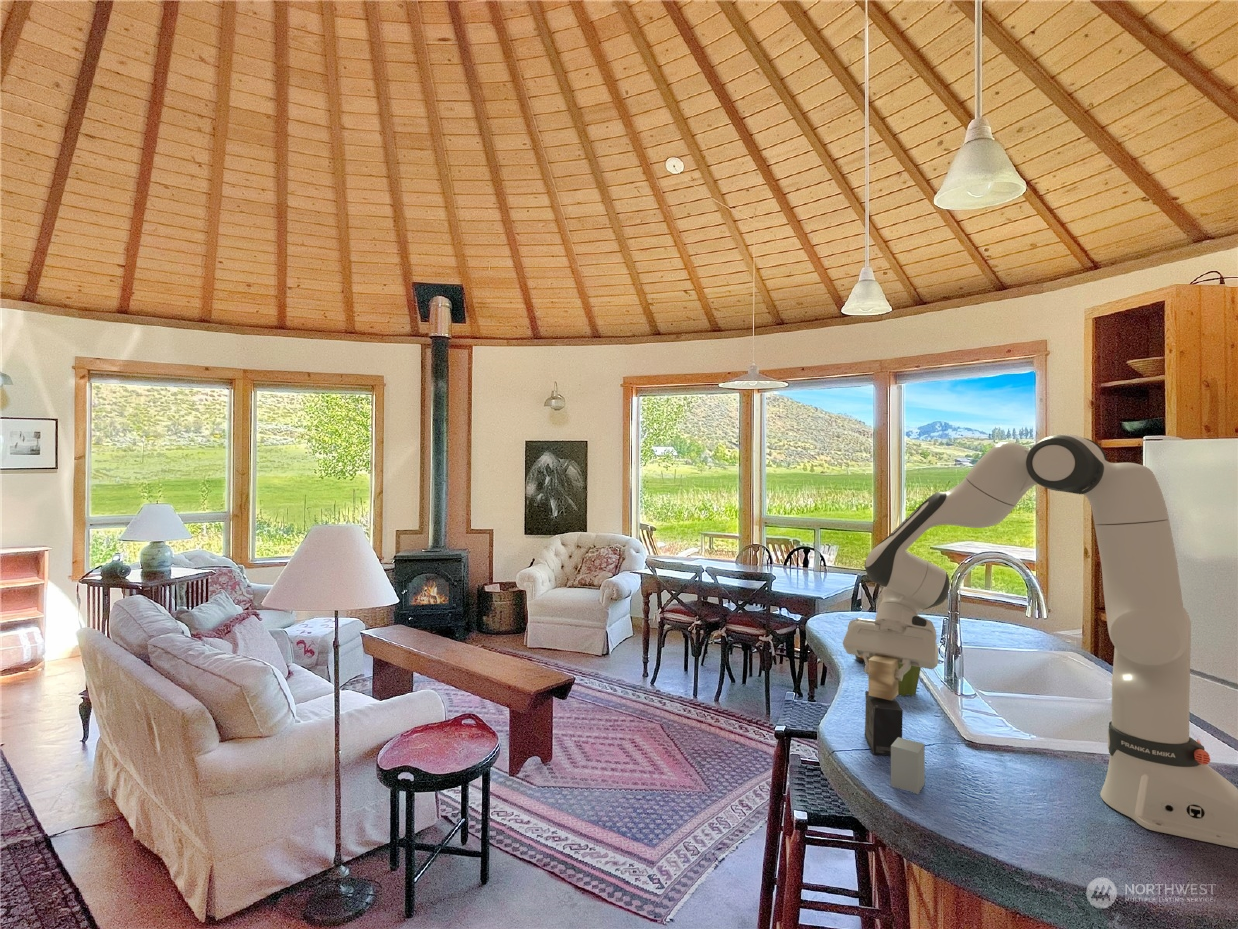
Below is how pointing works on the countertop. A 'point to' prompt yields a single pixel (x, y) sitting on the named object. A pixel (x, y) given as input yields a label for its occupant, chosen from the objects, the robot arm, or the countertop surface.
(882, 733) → the small box
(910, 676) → the plant pot
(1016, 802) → the countertop surface
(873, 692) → the maple block
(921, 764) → the grey box
